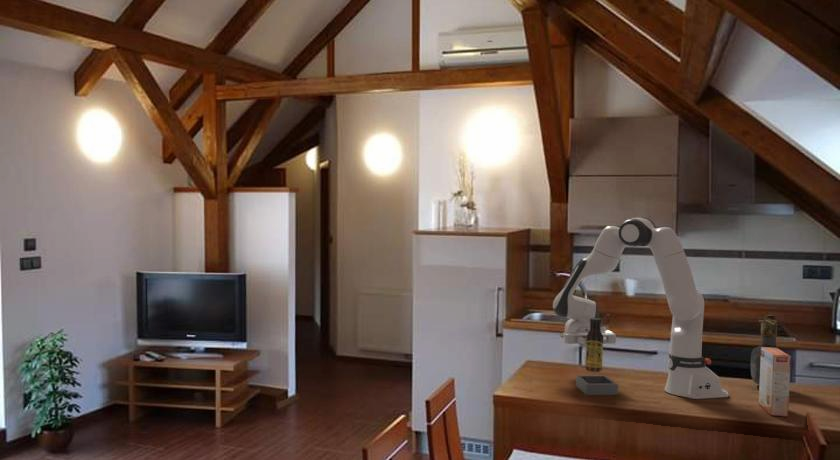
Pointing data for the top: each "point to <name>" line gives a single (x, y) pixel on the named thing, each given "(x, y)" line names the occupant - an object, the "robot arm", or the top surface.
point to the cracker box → (774, 381)
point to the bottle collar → (597, 385)
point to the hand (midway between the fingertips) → (595, 341)
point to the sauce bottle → (594, 346)
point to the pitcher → (764, 344)
